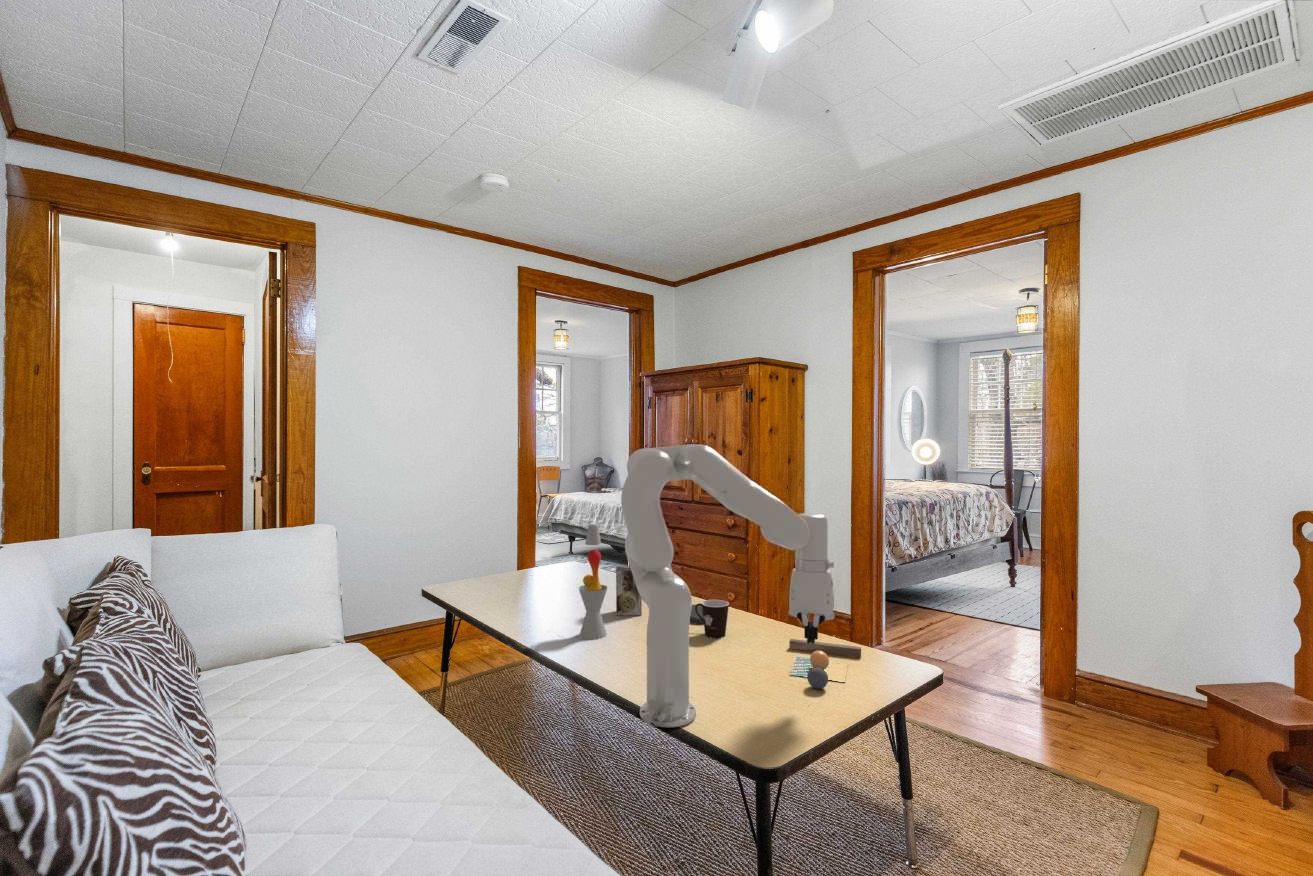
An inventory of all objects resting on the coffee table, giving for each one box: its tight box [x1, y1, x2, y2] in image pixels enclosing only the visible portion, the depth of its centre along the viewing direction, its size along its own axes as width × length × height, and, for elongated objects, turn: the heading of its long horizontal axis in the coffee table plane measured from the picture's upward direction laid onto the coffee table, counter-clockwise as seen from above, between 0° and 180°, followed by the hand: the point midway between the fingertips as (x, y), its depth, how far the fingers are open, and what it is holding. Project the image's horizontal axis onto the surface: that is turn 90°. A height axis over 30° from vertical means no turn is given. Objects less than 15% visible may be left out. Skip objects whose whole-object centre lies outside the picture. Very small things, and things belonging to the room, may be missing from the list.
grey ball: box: [806, 668, 829, 690], centre depth 152 cm, size 5×5×5 cm
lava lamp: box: [578, 523, 608, 640], centre depth 193 cm, size 9×9×35 cm
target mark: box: [789, 656, 839, 678], centre depth 164 cm, size 14×14×1 cm
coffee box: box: [615, 565, 643, 616], centre depth 217 cm, size 9×6×16 cm
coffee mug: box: [695, 599, 730, 639], centre depth 195 cm, size 12×9×10 cm
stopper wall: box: [789, 638, 862, 658], centre depth 177 cm, size 2×20×2 cm, turn 69°
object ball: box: [809, 651, 830, 670], centre depth 164 cm, size 5×5×5 cm
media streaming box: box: [690, 604, 704, 625], centre depth 213 cm, size 15×15×3 cm
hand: (811, 641), depth 147 cm, fingers closed
